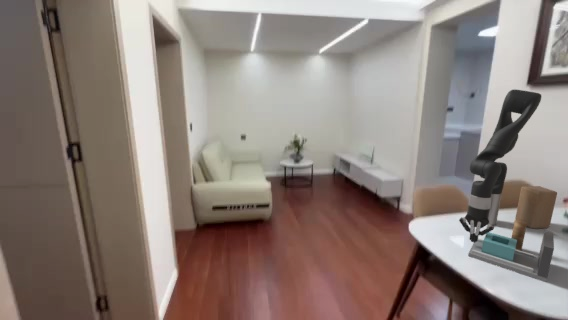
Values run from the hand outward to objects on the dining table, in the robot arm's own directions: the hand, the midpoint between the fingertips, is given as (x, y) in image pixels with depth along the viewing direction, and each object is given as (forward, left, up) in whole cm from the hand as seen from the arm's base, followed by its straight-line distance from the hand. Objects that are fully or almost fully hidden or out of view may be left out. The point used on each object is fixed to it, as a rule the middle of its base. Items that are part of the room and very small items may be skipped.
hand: (473, 241), depth 115 cm
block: (+18, +49, -4) cm, 52 cm away
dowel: (+14, +13, -4) cm, 19 cm away
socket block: (+9, 0, -2) cm, 9 cm away
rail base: (+12, 0, -4) cm, 12 cm away
